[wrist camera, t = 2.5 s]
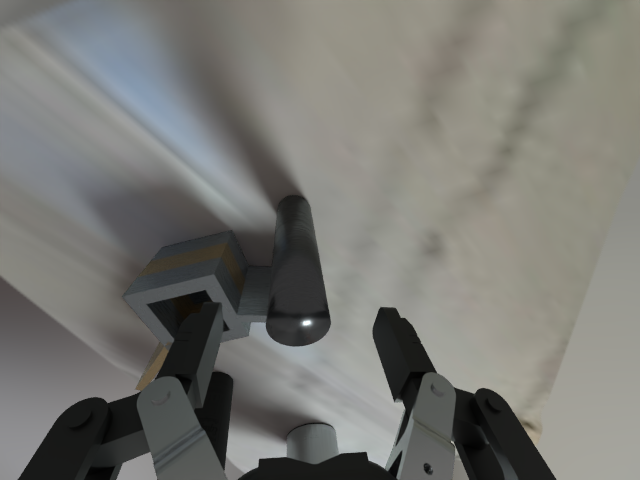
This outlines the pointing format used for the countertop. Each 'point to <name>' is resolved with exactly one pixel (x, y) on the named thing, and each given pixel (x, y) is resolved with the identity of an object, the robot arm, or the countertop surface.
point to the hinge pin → (296, 278)
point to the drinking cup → (217, 413)
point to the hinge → (198, 291)
